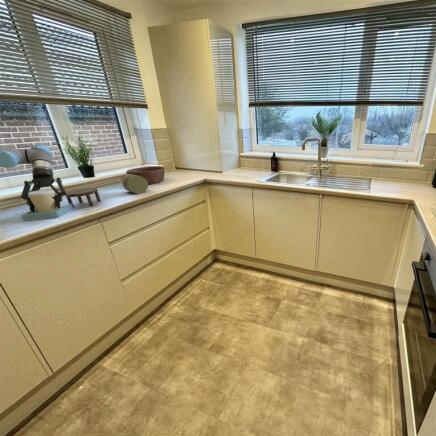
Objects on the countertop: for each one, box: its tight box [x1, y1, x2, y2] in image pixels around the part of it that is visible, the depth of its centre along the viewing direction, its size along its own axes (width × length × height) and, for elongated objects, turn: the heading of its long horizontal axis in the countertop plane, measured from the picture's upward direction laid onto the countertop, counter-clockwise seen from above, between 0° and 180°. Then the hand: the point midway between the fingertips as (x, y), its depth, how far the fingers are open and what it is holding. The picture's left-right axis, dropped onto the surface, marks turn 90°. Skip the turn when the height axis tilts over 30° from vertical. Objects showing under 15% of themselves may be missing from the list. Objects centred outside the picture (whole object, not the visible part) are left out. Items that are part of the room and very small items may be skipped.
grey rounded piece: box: [120, 173, 149, 195], centre depth 156 cm, size 11×12×11 cm
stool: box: [65, 187, 102, 209], centre depth 134 cm, size 14×14×8 cm
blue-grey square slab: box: [21, 203, 74, 222], centre depth 121 cm, size 14×13×3 cm
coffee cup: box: [28, 188, 61, 213], centre depth 119 cm, size 9×9×12 cm
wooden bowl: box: [125, 165, 165, 186], centre depth 182 cm, size 25×25×10 cm
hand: (45, 208), depth 118 cm, fingers closed on coffee cup, 9 cm apart
